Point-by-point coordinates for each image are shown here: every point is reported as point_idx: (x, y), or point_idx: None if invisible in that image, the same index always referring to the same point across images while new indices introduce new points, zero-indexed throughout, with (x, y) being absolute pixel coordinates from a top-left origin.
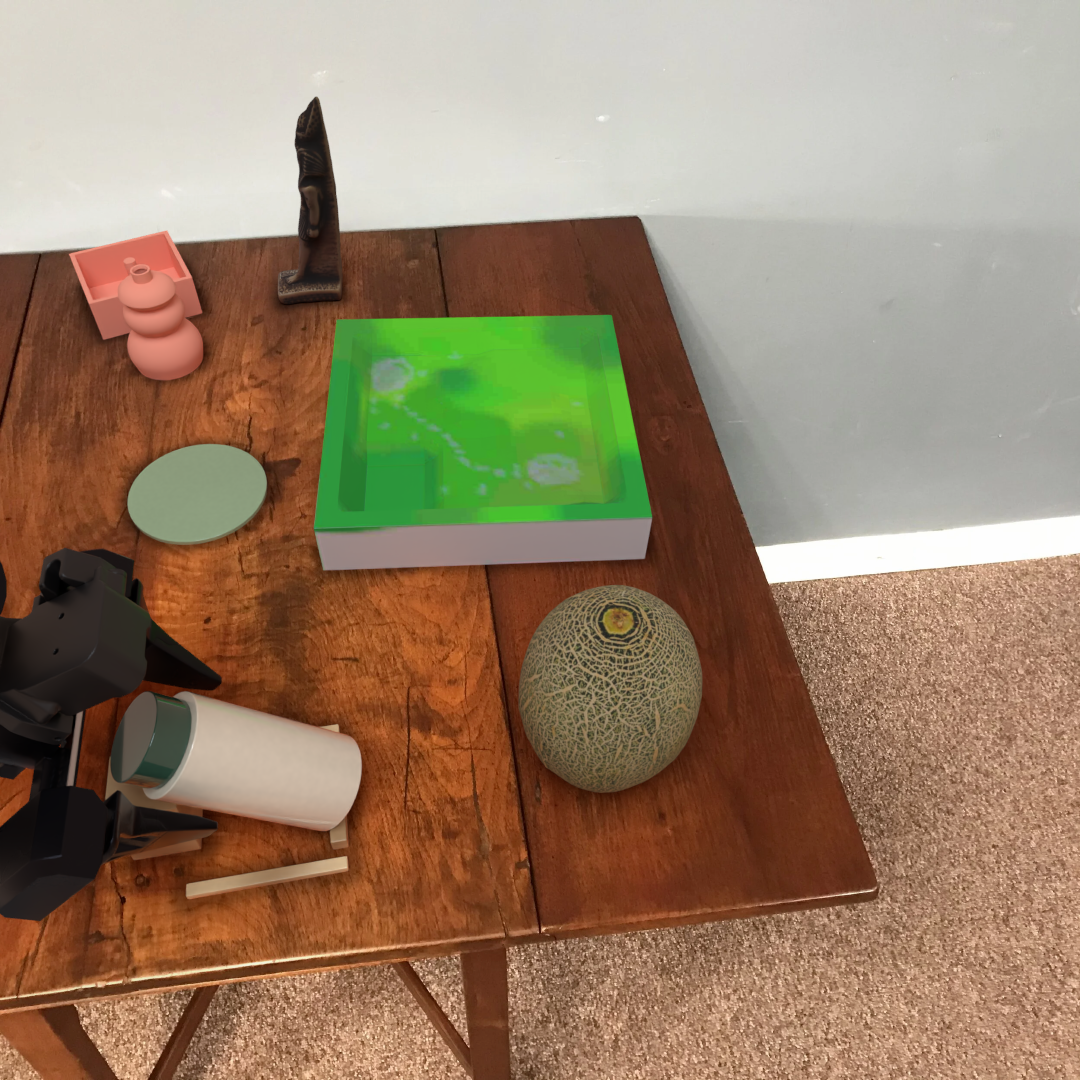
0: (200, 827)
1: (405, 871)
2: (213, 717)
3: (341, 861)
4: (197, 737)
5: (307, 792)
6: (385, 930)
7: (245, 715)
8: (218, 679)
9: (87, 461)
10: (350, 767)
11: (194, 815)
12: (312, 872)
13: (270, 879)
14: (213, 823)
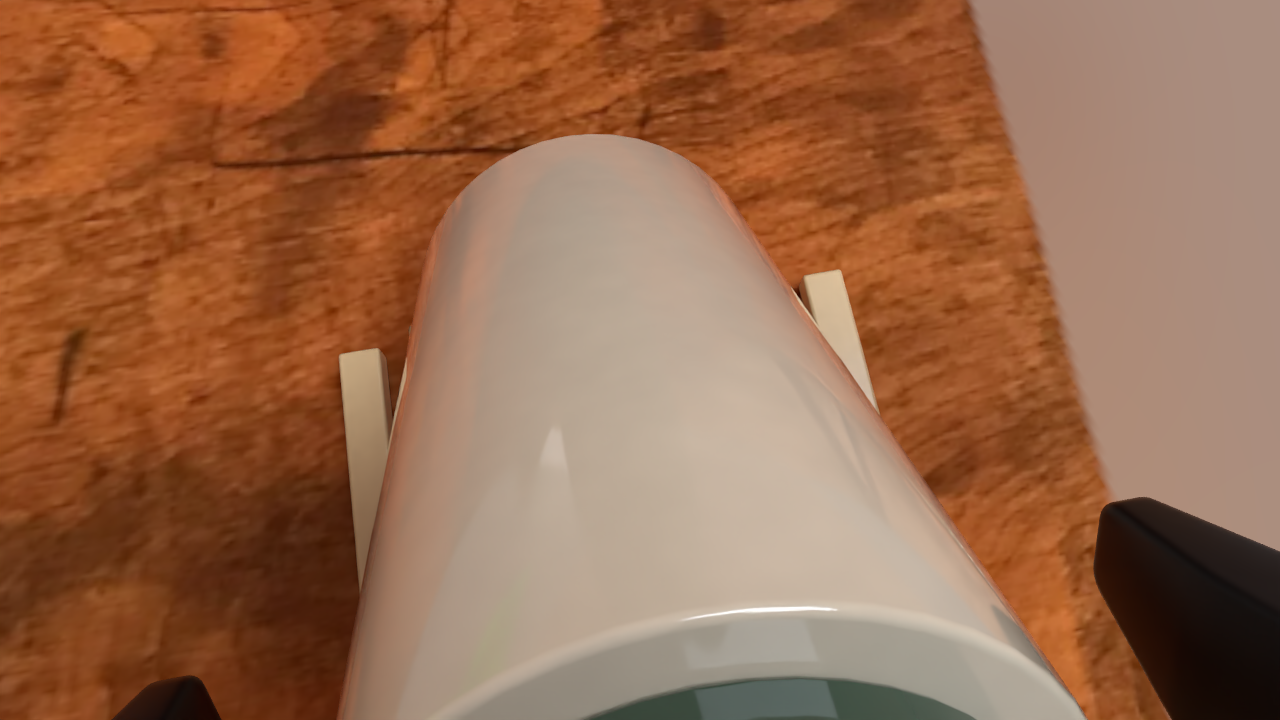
0: (1259, 544)
1: (823, 133)
2: (612, 526)
3: (821, 288)
4: (839, 594)
5: (757, 246)
6: (989, 170)
7: (496, 414)
8: (172, 691)
9: None
10: (609, 149)
11: (1227, 584)
12: (862, 368)
13: None
14: (1146, 510)
